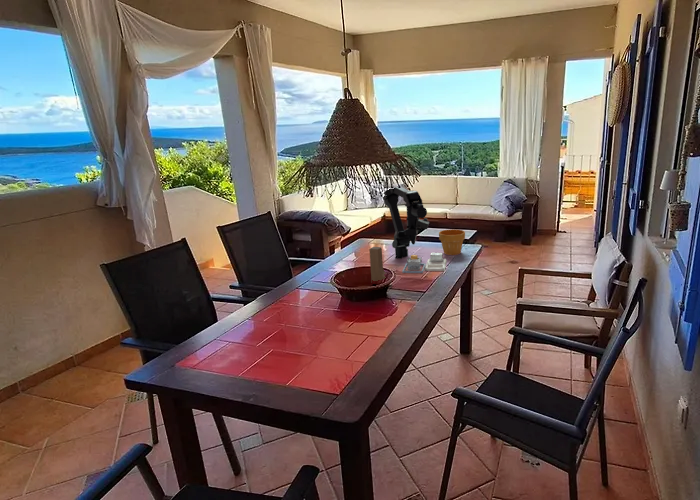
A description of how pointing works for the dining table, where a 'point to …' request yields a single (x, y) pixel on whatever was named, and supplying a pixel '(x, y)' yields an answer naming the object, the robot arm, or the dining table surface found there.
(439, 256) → the block
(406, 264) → the tray
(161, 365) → the dining table surface
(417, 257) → the button
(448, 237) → the flower pot
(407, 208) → the robot arm
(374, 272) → the wooden block
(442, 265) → the white divided tray
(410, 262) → the billet
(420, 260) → the grey square frame
